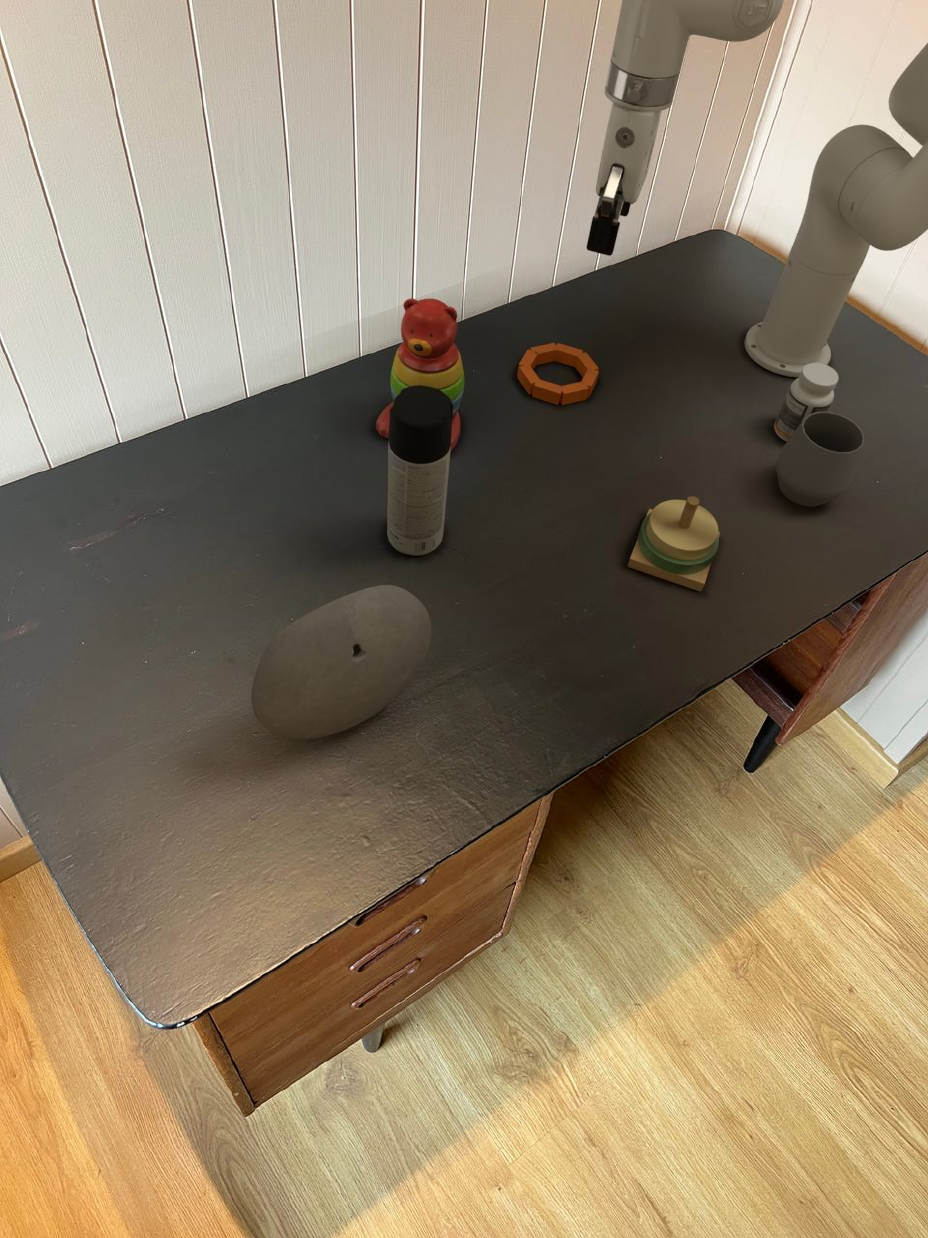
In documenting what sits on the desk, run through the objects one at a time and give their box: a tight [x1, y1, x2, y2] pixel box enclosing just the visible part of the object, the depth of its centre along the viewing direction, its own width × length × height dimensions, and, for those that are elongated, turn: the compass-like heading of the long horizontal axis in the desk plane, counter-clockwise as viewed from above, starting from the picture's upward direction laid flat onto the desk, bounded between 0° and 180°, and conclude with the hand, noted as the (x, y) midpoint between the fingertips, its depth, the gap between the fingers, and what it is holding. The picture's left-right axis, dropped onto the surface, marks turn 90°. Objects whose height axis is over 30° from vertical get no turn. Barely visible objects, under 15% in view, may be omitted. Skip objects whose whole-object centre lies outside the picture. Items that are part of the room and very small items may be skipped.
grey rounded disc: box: [250, 584, 432, 740], centre depth 85 cm, size 18×7×19 cm, turn 123°
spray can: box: [386, 385, 453, 557], centre depth 100 cm, size 7×7×20 cm
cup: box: [775, 411, 866, 508], centre depth 114 cm, size 10×9×10 cm
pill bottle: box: [773, 363, 839, 442], centre depth 121 cm, size 6×6×10 cm
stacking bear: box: [375, 297, 466, 452], centre depth 113 cm, size 11×10×18 cm
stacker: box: [627, 495, 721, 593], centre depth 106 cm, size 9×9×9 cm
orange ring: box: [516, 342, 600, 406], centre depth 127 cm, size 11×11×2 cm
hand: (607, 231), depth 111 cm, fingers open, 9 cm apart
